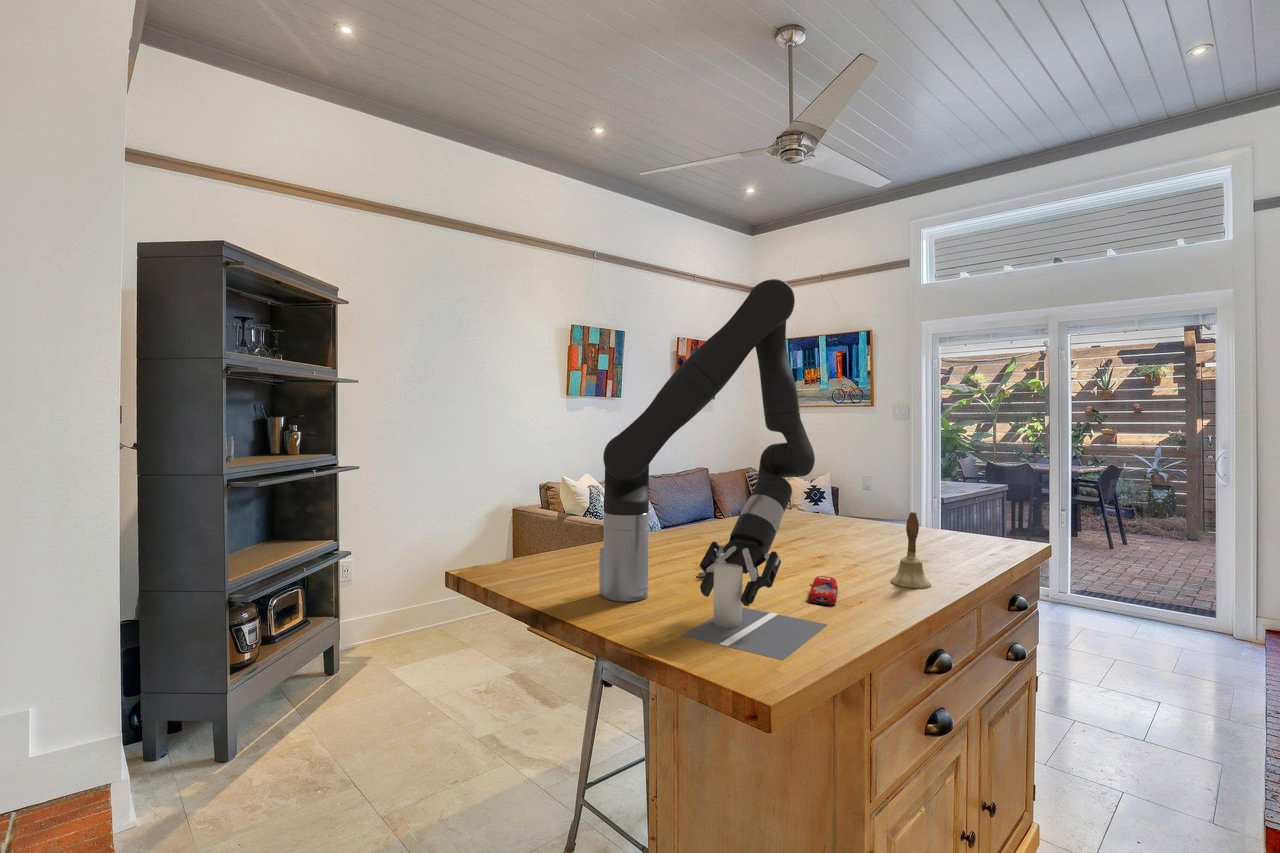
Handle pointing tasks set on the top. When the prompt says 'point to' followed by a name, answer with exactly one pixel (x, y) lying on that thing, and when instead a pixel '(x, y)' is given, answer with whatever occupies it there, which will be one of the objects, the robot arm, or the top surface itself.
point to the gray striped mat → (760, 633)
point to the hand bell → (911, 560)
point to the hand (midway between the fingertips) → (723, 598)
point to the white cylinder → (727, 595)
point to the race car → (823, 591)
